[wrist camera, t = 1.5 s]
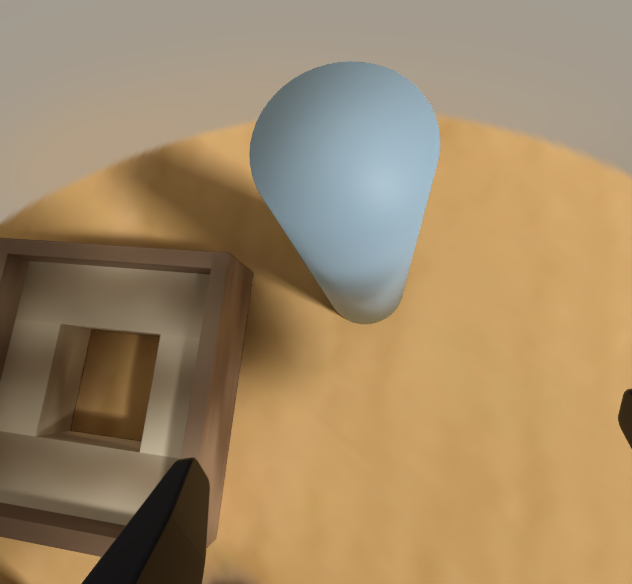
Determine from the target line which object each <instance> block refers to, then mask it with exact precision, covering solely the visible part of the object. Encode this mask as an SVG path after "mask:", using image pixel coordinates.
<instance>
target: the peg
mask: <svg viewBox="0 0 632 584" xmlns="http://www.w3.org/2000/svg"><path fill="white" fill-rule="evenodd" d="M439 152H440V133H439V127H438V122H437V119H436V116H435V113H434V111H433V109H432V107H431V105H430V103H429V102H428V100H427V99H426V97H425V96H424V94H423V93H422V92H421V91H420V90H419V89H418V88H417V87H416V86H415V85H414V84H413V83H412V82H410V81H409V80H408V79H407V78H405V77H403V76H402V75H400V74H399V73H397V72H395V71H393V70H390V69H388V68H386V67H382V66H379V65H376V64H371V63H365V62H338V63H333V64H327V65H324V66H321V67H317V68H314V69H312V70H310V71H307V72H305V73H303V74H301V75H300V76H298V77H296V78H294V79H293V80H291V81H290V82H289V83H287V84H286V85H285V86H283V87H282V88H281V89H280V90H279V91H278V92H277V93H276V94H275V95H274V96H273V98H272V99H271V100H270V101H269V102H268V103H267V105H266V107H265V108H264V109H263V111H262V112H261V114H260V116H259V118H258V120H257V122H256V125H255V128H254V131H253V134H252V139H251V143H250V167H251V172H252V176H253V179H254V182H255V185H256V187H257V189H258V191H259V193H260V195H261V197H262V198H263V200H264V201H265V203H266V204H267V206H268V207H269V209H270V210H271V212H272V214H273V215H274V217H275V218H276V220H277V221H278V223H279V224H280V226H281V227H282V229H283V230H284V232H285V234H286V235H287V237H288V238H289V240H290V241H291V243H292V244H293V246H294V247H295V249H296V251H297V252H298V254H299V255H300V257H301V258H302V260H303V261H304V263H305V264H306V266H307V267H308V269H309V271H310V272H311V274H312V275H313V277H314V278H315V280H316V281H317V283H318V284H319V286H320V288H321V289H322V291H323V292H324V294H325V295H326V297H327V298H328V300H329V301H330V303H331V304H332V306H333V307H334V309H335V310H336V311H337V312H338V313H339V314H340V315H341V316H342V317H343V318H345V319H347V320H349V321H351V322H354V323H358V324H372V323H376V322H379V321H382V320H383V319H385V318H387V317H388V316H390V315H391V314H392V313H393V312H394V311H395V309H396V308H397V307H398V305H399V303H400V301H401V298H402V295H403V291H404V287H405V284H406V280H407V276H408V272H409V269H410V265H411V261H412V257H413V254H414V250H415V246H416V242H417V238H418V235H419V231H420V227H421V223H422V220H423V216H424V212H425V208H426V205H427V201H428V197H429V193H430V189H431V186H432V182H433V178H434V174H435V171H436V167H437V163H438V159H439Z"/></svg>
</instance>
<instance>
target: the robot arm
mask: <svg viewBox="0 0 632 584" xmlns="http://www.w3.org/2000/svg"><path fill="white" fill-rule="evenodd" d="M618 421H619V425H620V428H621V430H622V432H623V433H624V435H625V437H626V439H627V441H628V443H629V445H630V447H631V449H632V389H628V390H626V391H625V392H624V394H623V398H622V402H621V406H620V410H619V415H618ZM209 496H210V483H209V479H208V477H207V475H206V474H205V472H204V470H203V469H202V467H201V465H200V464H199V462H198V460H197V459H196V458H194V457H191V458H184V459H179V460H177V461H176V462H174V464H173V465H172V466H171V467H170V469H169V470H168V471H167V473H166V474H165V475H164V477H163V478H162V479H161V480H160V482H159V483H158V484H157V486H156V487H155V488H154V490H153V491H152V492H151V494H150V495H149V496H148V497H147V499H146V500H145V501H144V503H143V504H142V505H141V507H140V508H139V509H138V511H137V512H136V513H135V514H134V516H133V517H132V518H131V520H130V521H129V522H128V524H127V525H126V526H125V528H124V529H123V530H122V531H121V533H120V534H119V535H118V537H117V538H116V539H115V541H114V542H113V543H112V545H111V546H110V547H109V548H108V550H107V551H106V552H105V554H104V555H103V556H102V558H101V559H100V560H99V562H98V563H97V564H96V565H95V567H94V568H93V569H92V571H91V572H90V573H89V575H88V576H87V577H86V579H85V580H84V581H83V582H82V584H202V579H203V573H204V566H205V557H206V544H207V528H208V512H209Z"/></svg>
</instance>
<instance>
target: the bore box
mask: <svg viewBox="0 0 632 584" xmlns="http://www.w3.org/2000/svg"><path fill="white" fill-rule="evenodd" d="M252 278H253V272H252V271H251V270H249V269H248V268H247V267H246V266H245V265H243V264H242V263H241V262H240V261H239V260H238V259H236V258H235V257H234V256H233V255H232V254H230V253H223V252H208V251H193V250H178V249H162V248H147V247H132V246H117V245H102V244H86V243H71V242H56V241H41V240H26V239H10V238H0V537H5V538H10V539H15V540H20V541H25V542H30V543H35V544H40V545H45V546H50V547H55V548H60V549H65V550H70V551H75V552H80V553H85V554H90V555H95V556H100V557H102V556H103V555H104V554H105V552H106V551H107V550H108V548H109V547H110V546H111V545H112V543H113V542H114V541H115V539H116V538H117V537H118V535H119V534H120V533H121V531H122V530H123V529H124V528H125V526H126V525H127V524H128V522H129V521H130V520H131V518H132V517H133V516H134V514H135V513H136V512H137V511H138V509H139V508H140V507H141V505H142V504H143V503H144V501H145V500H146V499H147V497H148V496H149V495H150V494H151V492H152V491H153V490H154V488H155V487H156V486H157V484H158V483H159V482H160V480H161V479H162V478H163V477H164V475H165V474H166V473H167V471H168V470H169V469H170V467H171V466H172V465H173V464H174V462H176V461H177V460H179V459H184V458H191V457H194V458H196V459H197V460H198V462H199V464H200V465H201V467H202V469H203V470H204V472H205V474H206V475H207V477H208V479H209V483H210V496H209V512H208V528H207V544H206V548H207V547H208V546H209V545H210V544H211V543H212V542H213V541H214V540H215V539H216V535H217V528H218V521H219V514H220V507H221V500H222V493H223V485H224V478H225V471H226V464H227V457H228V450H229V443H230V435H231V428H232V421H233V414H234V407H235V400H236V393H237V386H238V378H239V371H240V364H241V357H242V350H243V343H244V336H245V328H246V321H247V314H248V307H249V300H250V293H251V286H252ZM91 329H93V330H103V331H113V332H122V333H132V334H142V335H152V336H160V340H159V346H158V352H157V357H156V363H155V369H154V374H153V380H152V386H151V391H150V397H149V403H148V408H147V414H146V419H145V425H144V431H143V436H142V441H135V440H129V439H122V438H115V437H108V436H102V435H95V434H88V433H81V432H75V431H70V429H71V424H72V420H73V415H74V410H75V405H76V400H77V395H78V391H79V386H80V381H81V376H82V371H83V367H84V362H85V357H86V352H87V347H88V343H89V338H90V333H91Z"/></svg>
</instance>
